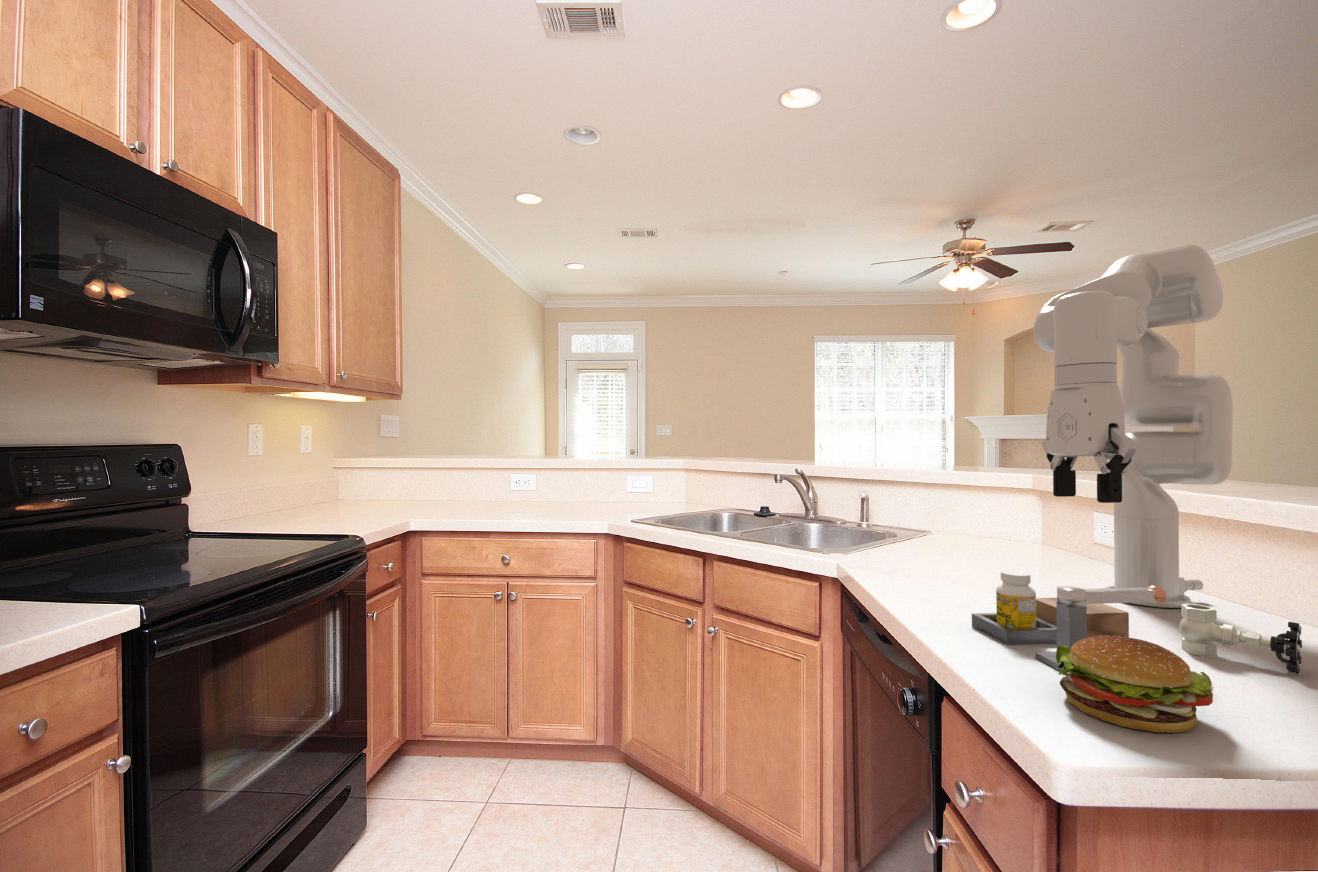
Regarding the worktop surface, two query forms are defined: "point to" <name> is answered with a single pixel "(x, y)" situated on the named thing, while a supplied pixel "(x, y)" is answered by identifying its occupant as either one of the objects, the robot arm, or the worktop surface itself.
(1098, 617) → the walnut block
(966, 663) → the worktop surface
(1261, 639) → the valve
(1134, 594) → the handle
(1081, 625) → the grey upright pillar
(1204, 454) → the robot arm
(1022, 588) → the supplement bottle
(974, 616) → the shallow grey tray
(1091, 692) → the food
